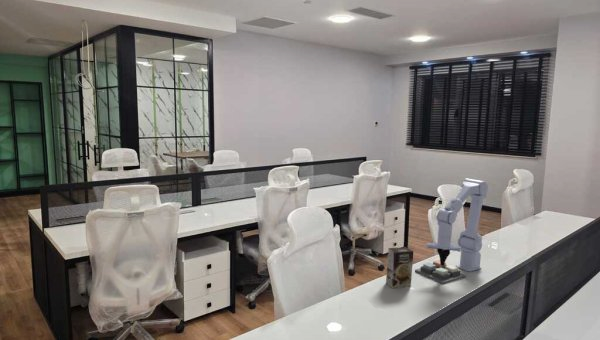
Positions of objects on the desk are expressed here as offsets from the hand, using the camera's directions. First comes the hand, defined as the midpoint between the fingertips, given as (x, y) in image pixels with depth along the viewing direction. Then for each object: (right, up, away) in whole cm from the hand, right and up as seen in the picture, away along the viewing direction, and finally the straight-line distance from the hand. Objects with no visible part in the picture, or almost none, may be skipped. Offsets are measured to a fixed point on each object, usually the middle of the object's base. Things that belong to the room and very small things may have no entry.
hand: (442, 264), depth 185 cm
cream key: (+6, -4, +4) cm, 8 cm away
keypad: (+1, -6, +6) cm, 8 cm away
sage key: (0, -4, +1) cm, 4 cm away
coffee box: (-22, -7, -7) cm, 24 cm away
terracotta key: (+2, -3, +10) cm, 11 cm away
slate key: (-4, -3, +7) cm, 8 cm away
